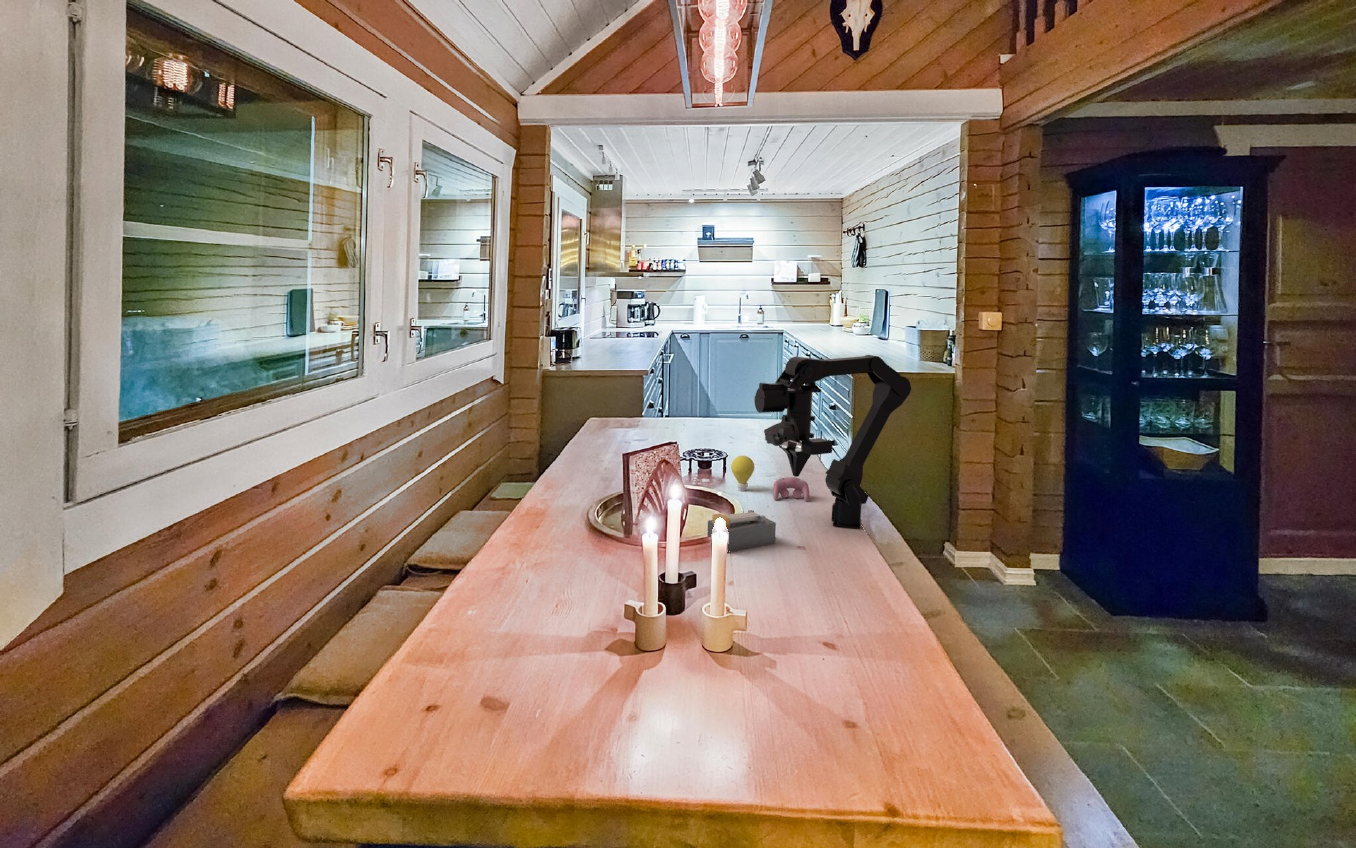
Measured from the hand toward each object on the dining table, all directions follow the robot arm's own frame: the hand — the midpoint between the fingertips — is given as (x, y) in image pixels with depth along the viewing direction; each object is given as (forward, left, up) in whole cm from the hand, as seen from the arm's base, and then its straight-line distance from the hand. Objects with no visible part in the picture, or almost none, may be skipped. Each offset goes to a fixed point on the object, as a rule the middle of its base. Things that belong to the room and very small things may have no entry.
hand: (795, 476), depth 175 cm
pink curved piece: (+4, -26, -13) cm, 29 cm away
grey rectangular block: (+10, +14, -13) cm, 21 cm away
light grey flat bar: (+10, +14, -8) cm, 18 cm away
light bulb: (+19, -30, -13) cm, 38 cm away
